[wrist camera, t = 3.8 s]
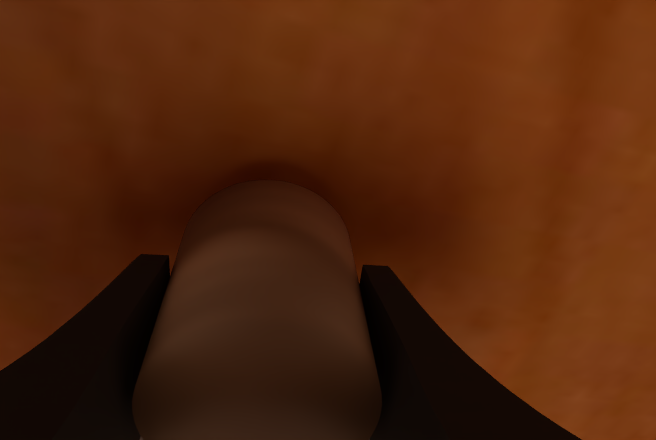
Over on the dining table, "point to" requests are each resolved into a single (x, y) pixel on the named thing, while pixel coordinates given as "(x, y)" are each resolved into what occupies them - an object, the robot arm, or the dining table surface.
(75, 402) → the robot arm
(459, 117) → the dining table surface
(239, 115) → the dining table surface
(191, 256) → the walnut cylinder
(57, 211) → the dining table surface
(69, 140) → the dining table surface
